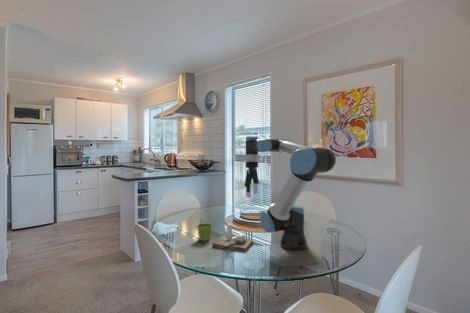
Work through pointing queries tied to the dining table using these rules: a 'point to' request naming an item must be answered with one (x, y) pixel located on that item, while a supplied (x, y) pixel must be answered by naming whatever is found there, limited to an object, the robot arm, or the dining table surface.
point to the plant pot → (204, 231)
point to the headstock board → (232, 244)
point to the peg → (237, 238)
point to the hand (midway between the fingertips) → (252, 195)
